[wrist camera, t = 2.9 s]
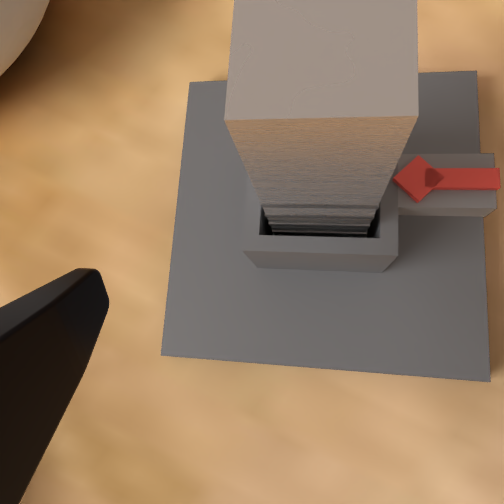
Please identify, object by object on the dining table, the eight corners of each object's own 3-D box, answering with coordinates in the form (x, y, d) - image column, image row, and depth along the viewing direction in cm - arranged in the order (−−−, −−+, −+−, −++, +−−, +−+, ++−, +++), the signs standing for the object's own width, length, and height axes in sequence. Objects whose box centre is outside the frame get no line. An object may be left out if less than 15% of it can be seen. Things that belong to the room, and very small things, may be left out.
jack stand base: (480, 379, 17) (547, 397, 12) (168, 354, 20) (116, 360, 15) (469, 83, 20) (519, -3, 15) (195, 93, 22) (158, 21, 17)
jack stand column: (359, 249, 18) (420, 117, 7) (278, 246, 19) (222, 121, 8) (360, 173, 19) (417, -53, 8) (283, 173, 19) (236, -37, 8)
